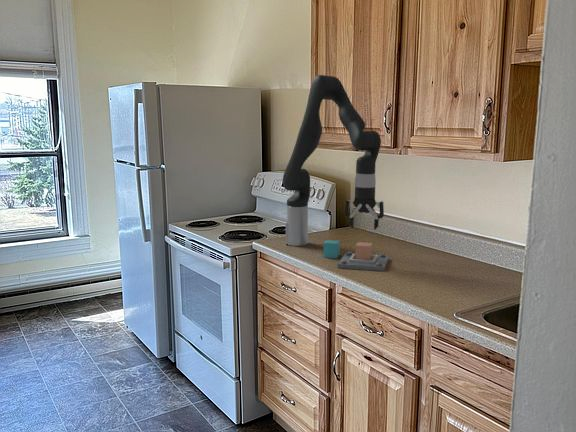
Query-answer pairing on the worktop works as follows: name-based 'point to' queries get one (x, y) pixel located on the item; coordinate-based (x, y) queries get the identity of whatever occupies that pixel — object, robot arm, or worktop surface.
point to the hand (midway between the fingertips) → (363, 228)
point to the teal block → (331, 249)
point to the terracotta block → (363, 251)
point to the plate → (363, 262)
